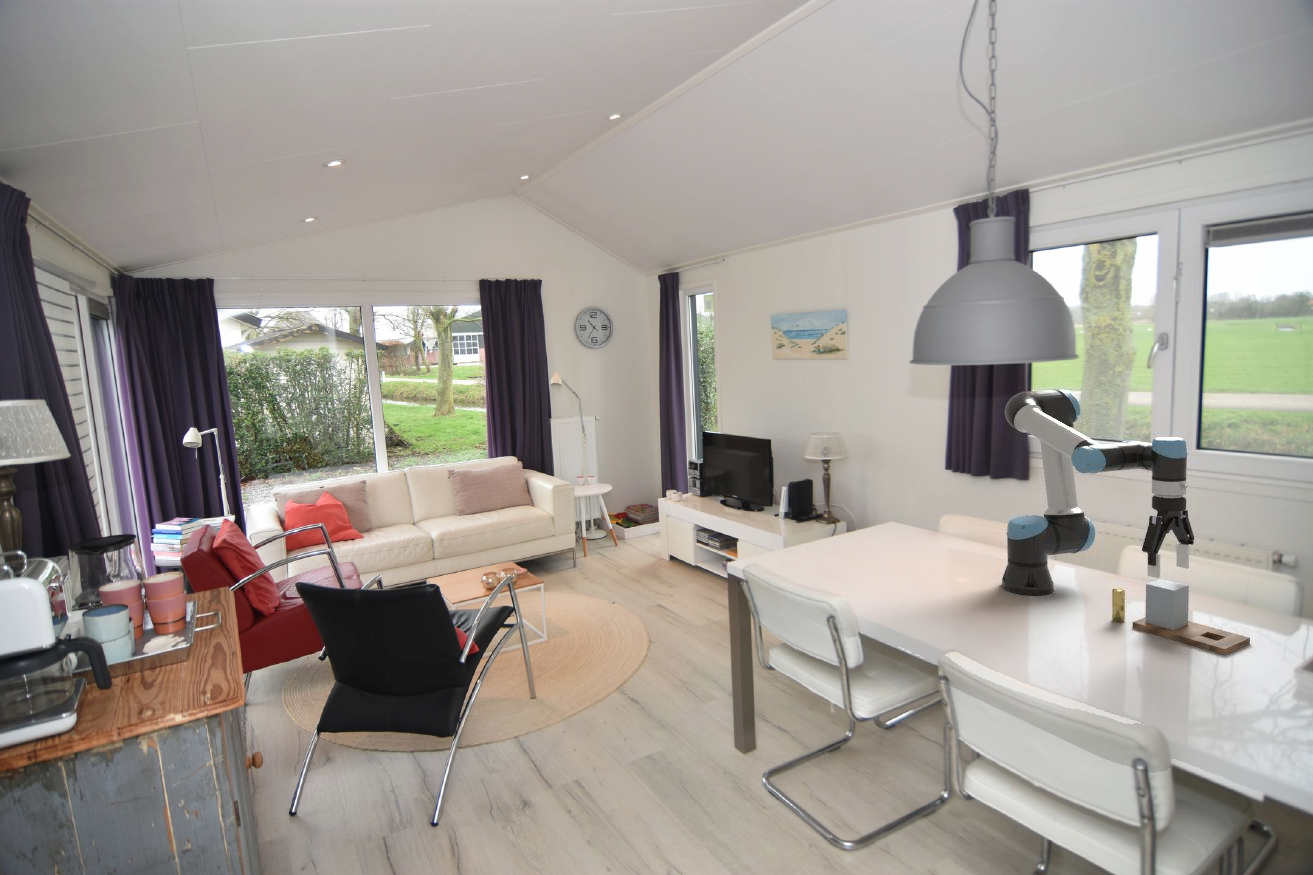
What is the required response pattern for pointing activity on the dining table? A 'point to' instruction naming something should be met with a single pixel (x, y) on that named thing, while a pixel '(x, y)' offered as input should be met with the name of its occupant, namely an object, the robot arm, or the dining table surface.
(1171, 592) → the block
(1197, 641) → the board
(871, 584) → the dining table surface
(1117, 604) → the pin
